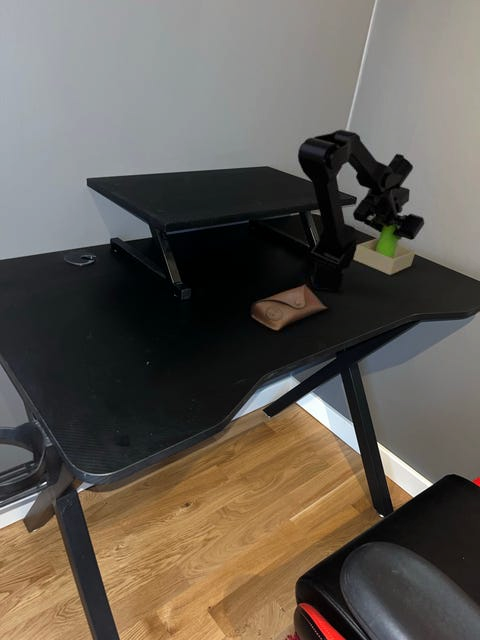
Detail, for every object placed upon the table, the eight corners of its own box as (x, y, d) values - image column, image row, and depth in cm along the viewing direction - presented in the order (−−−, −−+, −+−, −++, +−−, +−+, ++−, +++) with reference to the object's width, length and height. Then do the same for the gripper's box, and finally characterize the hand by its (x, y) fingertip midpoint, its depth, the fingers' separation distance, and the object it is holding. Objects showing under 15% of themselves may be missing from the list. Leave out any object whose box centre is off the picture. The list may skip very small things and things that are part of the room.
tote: (389, 275, 127) (394, 260, 124) (353, 259, 134) (356, 245, 131) (410, 265, 134) (415, 251, 132) (375, 251, 141) (379, 237, 139)
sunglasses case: (278, 331, 93) (270, 299, 92) (255, 333, 99) (247, 303, 98) (330, 307, 105) (323, 279, 104) (306, 310, 110) (299, 283, 109)
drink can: (384, 262, 130) (396, 220, 124) (370, 255, 134) (382, 214, 127) (396, 259, 133) (408, 218, 127) (382, 253, 136) (394, 212, 130)
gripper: (433, 187, 113) (438, 223, 126) (369, 169, 124) (379, 204, 137) (408, 222, 112) (416, 255, 125) (346, 201, 123) (358, 233, 136)
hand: (392, 235), depth 131 cm, fingers closed on drink can, 5 cm apart
